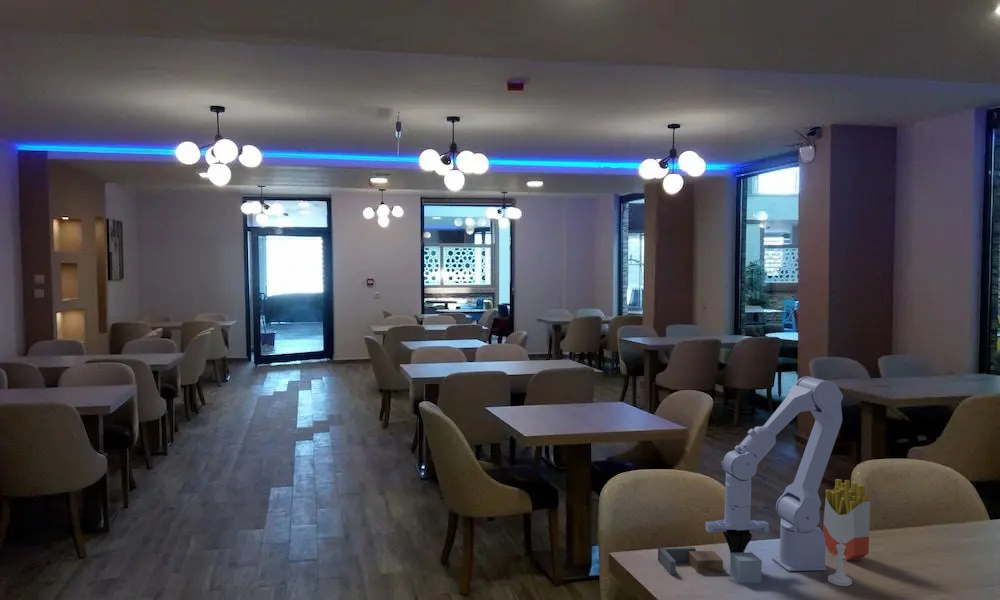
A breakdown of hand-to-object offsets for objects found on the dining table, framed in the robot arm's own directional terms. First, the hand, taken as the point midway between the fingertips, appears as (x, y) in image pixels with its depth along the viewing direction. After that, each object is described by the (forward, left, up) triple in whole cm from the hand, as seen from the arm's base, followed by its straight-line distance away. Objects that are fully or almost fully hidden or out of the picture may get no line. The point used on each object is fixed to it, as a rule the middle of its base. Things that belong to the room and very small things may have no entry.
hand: (736, 562), depth 175 cm
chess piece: (-20, +10, -1) cm, 22 cm away
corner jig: (+12, 0, -1) cm, 12 cm away
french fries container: (-30, -5, -1) cm, 30 cm away
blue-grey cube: (+1, +7, -1) cm, 7 cm away
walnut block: (+7, 0, -1) cm, 8 cm away
